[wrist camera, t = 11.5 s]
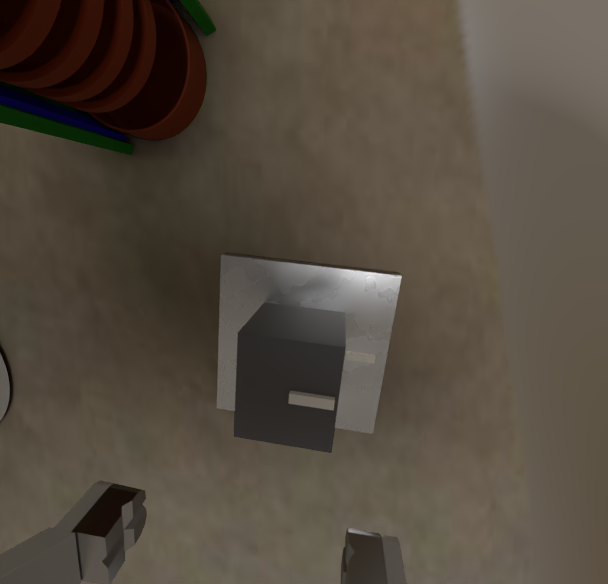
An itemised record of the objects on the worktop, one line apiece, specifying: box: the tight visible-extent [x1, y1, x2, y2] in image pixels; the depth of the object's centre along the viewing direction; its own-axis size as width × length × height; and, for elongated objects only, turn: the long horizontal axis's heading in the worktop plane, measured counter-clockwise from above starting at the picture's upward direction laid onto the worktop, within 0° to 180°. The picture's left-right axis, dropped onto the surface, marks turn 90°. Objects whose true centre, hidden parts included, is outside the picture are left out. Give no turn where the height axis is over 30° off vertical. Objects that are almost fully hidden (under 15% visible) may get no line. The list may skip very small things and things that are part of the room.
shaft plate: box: [217, 253, 402, 434], centre depth 21 cm, size 12×12×4 cm
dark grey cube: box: [234, 302, 346, 453], centre depth 19 cm, size 6×6×6 cm
